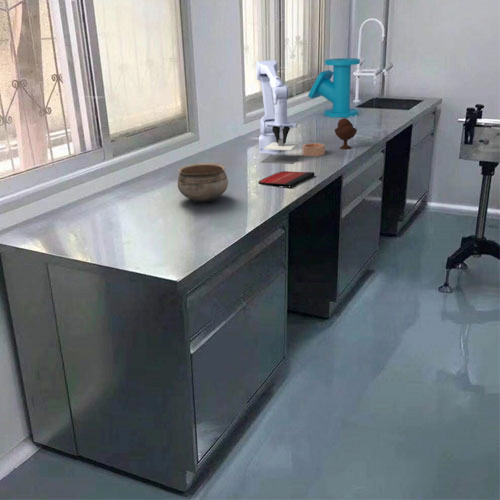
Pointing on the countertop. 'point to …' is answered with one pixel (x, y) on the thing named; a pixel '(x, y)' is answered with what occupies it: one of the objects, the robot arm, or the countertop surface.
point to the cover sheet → (287, 146)
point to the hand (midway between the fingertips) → (281, 143)
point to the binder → (286, 178)
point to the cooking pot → (202, 181)
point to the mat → (281, 159)
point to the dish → (313, 149)
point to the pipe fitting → (336, 87)
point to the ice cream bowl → (345, 132)
